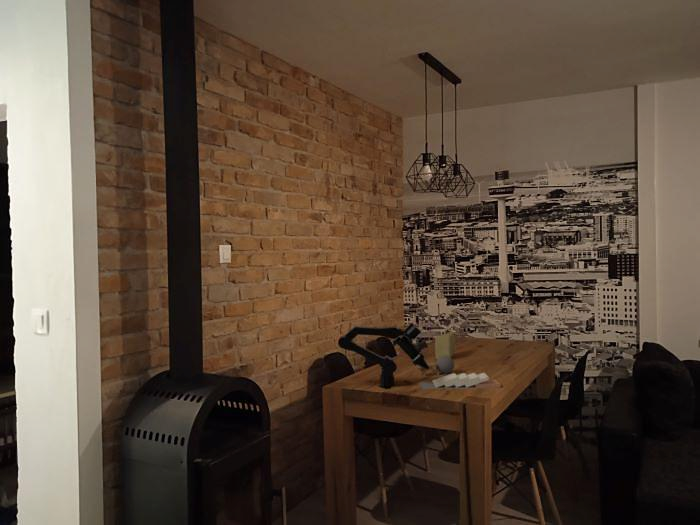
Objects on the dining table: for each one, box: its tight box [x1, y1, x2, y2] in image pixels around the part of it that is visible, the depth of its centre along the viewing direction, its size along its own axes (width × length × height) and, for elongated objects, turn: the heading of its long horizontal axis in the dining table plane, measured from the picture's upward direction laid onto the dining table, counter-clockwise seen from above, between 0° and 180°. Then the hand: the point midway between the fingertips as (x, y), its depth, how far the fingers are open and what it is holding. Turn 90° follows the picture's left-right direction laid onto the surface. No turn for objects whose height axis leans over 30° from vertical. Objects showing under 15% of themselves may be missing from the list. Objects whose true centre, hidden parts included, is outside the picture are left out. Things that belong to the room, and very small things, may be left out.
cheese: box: [434, 331, 456, 360], centre depth 366 cm, size 22×10×15 cm, turn 151°
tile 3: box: [455, 372, 479, 388], centre depth 285 cm, size 2×10×12 cm
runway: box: [419, 382, 485, 390], centre depth 285 cm, size 32×13×1 cm, turn 89°
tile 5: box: [474, 379, 501, 389], centre depth 285 cm, size 2×10×12 cm
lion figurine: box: [416, 362, 441, 377], centre depth 312 cm, size 15×5×9 cm, turn 113°
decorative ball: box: [435, 355, 455, 375], centre depth 316 cm, size 10×10×10 cm
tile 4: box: [465, 372, 490, 388], centre depth 285 cm, size 2×10×12 cm
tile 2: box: [444, 372, 469, 387], centre depth 285 cm, size 2×10×12 cm
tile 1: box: [431, 372, 459, 388], centre depth 286 cm, size 2×10×12 cm
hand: (428, 368), depth 286 cm, fingers closed
